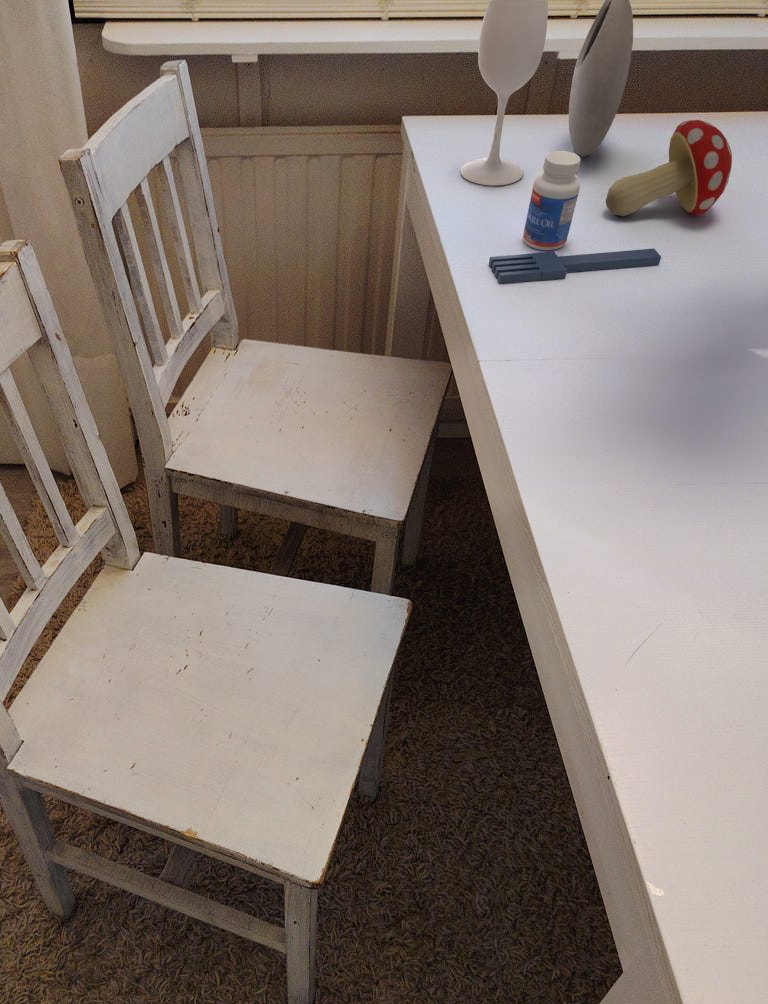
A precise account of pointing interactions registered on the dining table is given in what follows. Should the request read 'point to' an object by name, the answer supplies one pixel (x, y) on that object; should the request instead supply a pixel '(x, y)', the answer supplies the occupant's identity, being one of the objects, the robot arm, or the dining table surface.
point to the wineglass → (507, 72)
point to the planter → (600, 76)
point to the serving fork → (565, 264)
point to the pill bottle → (553, 202)
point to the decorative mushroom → (680, 173)
